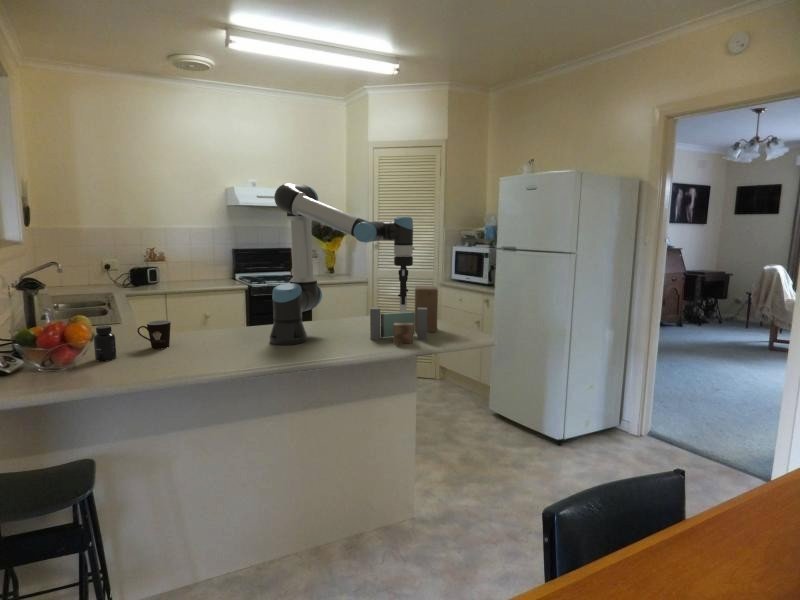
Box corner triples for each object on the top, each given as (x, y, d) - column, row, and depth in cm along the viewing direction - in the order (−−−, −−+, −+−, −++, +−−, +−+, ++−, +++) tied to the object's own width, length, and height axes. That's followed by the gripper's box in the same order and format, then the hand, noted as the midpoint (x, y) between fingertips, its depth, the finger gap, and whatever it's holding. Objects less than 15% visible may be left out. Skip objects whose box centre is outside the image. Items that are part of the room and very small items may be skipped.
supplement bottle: (93, 362, 182) (89, 329, 180) (98, 357, 189) (95, 325, 187) (114, 360, 184) (111, 328, 182) (119, 356, 191) (116, 324, 189)
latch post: (417, 339, 217) (417, 309, 215) (417, 337, 221) (417, 307, 219) (426, 339, 217) (427, 309, 215) (426, 337, 221) (426, 307, 219)
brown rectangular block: (393, 344, 209) (393, 325, 208) (394, 341, 214) (394, 322, 213) (413, 344, 209) (413, 325, 208) (413, 341, 214) (413, 322, 213)
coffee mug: (177, 345, 207) (175, 321, 205) (162, 350, 199) (160, 325, 197) (153, 343, 210) (151, 319, 208) (137, 348, 202) (135, 323, 200)
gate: (381, 337, 218) (381, 314, 217) (380, 336, 220) (380, 313, 218) (414, 334, 223) (414, 312, 222) (413, 334, 225) (413, 311, 223)
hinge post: (370, 339, 218) (370, 309, 215) (371, 336, 222) (370, 307, 219) (379, 339, 217) (379, 309, 215) (380, 337, 221) (380, 307, 219)
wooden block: (437, 333, 229) (437, 288, 226) (414, 333, 229) (415, 288, 226) (436, 328, 239) (436, 285, 236) (414, 328, 239) (414, 285, 236)
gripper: (413, 258, 194) (412, 315, 198) (412, 253, 217) (412, 305, 220) (393, 258, 194) (393, 315, 198) (394, 253, 217) (394, 305, 221)
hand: (403, 309), depth 209 cm, fingers open, 10 cm apart
